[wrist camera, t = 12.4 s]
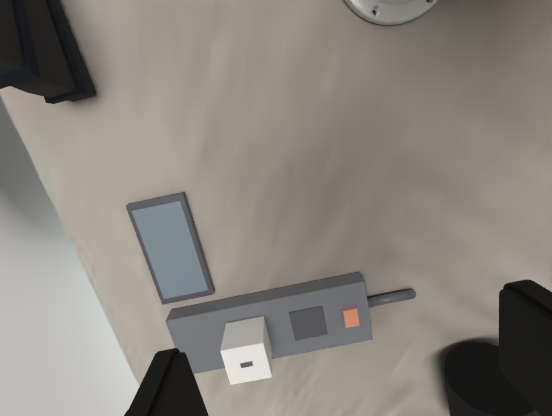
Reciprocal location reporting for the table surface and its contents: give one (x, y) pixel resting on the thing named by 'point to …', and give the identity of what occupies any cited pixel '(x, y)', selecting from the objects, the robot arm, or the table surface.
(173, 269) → the phone
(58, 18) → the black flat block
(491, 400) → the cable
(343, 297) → the power strip
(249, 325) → the charger plug
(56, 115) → the table surface
